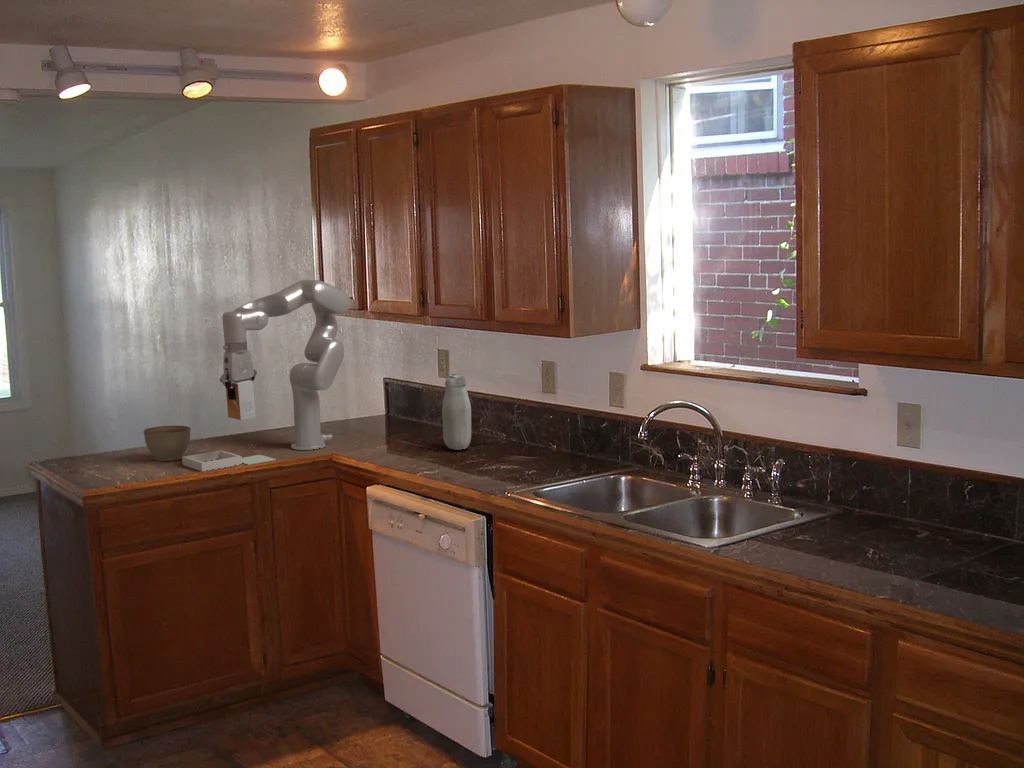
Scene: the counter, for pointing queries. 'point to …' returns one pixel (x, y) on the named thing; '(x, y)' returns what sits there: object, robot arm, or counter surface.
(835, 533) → the counter surface
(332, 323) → the robot arm
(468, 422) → the glass bottle
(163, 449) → the planter bowl
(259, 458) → the pad
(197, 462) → the bin
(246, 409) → the small box
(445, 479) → the counter surface
